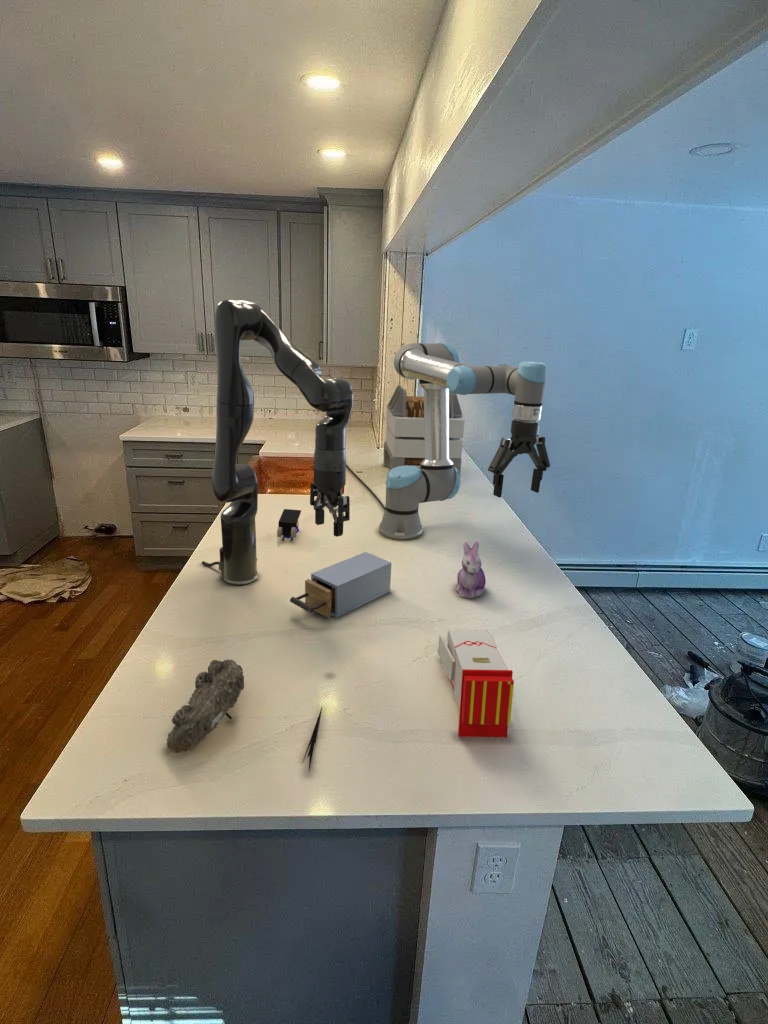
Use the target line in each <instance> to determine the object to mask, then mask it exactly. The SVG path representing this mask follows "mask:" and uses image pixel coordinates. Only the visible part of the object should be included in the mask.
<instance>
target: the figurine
mask: <svg viewBox="0 0 768 1024" xmlns="http://www.w3.org/2000/svg"><path fill="white" fill-rule="evenodd" d="M479 548H480V541H479V540H476V541H475V542H474V543H473V546H472V547H470V545H469V543H468V542H467V541H464V542H463V552H464V553H463V555H464V556H463V558H462V559H461V567H462V568H461V569H460V570H459V571H458V573H457V577H456V578H457V580H456V581H457V582H456V586H455V589H456V592H457V593H458V595H459V596H460V597H462V598H468V599H473V598H477V597H480V596H481V595H482V594H483V593H484V590H485V587H486V581H487V580H486V579H487V578H486V575H485V571H484V570H483V568H482V565H483V564H482V560H481V558H480V556H479V555H480V554H479Z"/></svg>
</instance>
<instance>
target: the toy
mask: <svg viewBox="0 0 768 1024" xmlns="http://www.w3.org/2000/svg"><path fill="white" fill-rule="evenodd" d="M446 640H447V643H446V641H445V639H444V636H443V635H442V634H439V637H438V646H437V656H438V657H439V659H440V661H441V663H442V666H443V668H444V670H445V672H446V674H447V677H448V679H449V681H450V684H451V687H452V690H453V693H454V697H455V701H456V705H457V708H458V711H459V714H458V715H459V716H458V730H457V731H458V732H457V737H458V738H508V731H509V726H510V725H511V717H512V707H513V697H514V696H513V695H514V684H515V680H514V679H513V673H514V671H513V670H512V669H508V667H507V665H506V662H505V661H504V659H503V658H502V655H501V653H500V651H499V649H498V647H497V643H496V639H495V637H494V635H493V634H491V632H490V631H489V629H467V628H466V629H465V628H463V629H461V628H460V629H459V628H448V630H447V639H446Z"/></svg>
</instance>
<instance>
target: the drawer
mask: <svg viewBox="0 0 768 1024" xmlns="http://www.w3.org/2000/svg"><path fill="white" fill-rule="evenodd" d="M301 599H304V601H302V600H301ZM289 602H290V603H291V604H293V605H295V606H297V607H299V608H301V609H302V610H304V611H306V612H308V613H309V614H314V612H317V613H319V614H321V615H323V616H324V617H326V618H330V617H331V616H332V615H331V611H335V588H334V587H332V586H330V585H328V584H326V583H324V582H322V581H320V580H318V579H315V582H313V581H311V579H309V578H308V579H305V580H304V594H301V595H298V596H291V598H290V600H289Z"/></svg>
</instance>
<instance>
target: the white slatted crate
mask: <svg viewBox="0 0 768 1024" xmlns="http://www.w3.org/2000/svg"><path fill="white" fill-rule="evenodd" d="M407 394H408V393H407V390H406V389H404V388H403V387H402V385H399V384H398V385H397V386H396V388H395V390H394V392H393V394H392V395H391V398H390V400H389V402H388V404H387V405H386V413H385V414H386V415H385V423H386V428H385V438H384V442H383V466H384V467H388V468H389V471H390V470H391V469H393V468H395V467H398V466H405V465H407V466H410V465H411V466H417V467H420V463H421V462H422V461H423V460H424V459H425V449H424V396H415V395H414V396H413V395H412V396H411V395H407ZM464 429H465V419H464V418H463V411H462V408H461V405H460V402H459V398H458V394H453V393H451V391H450V390H449V459H450V460H451V461H452V462H453V467H455V468H456V469H457V470H458V472H459V473H458V474H459V475H460V476H461V472H462V461H463V460H462V453H463V442H464V441H463V440H462V439H463V438H464V431H465V430H464Z"/></svg>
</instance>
